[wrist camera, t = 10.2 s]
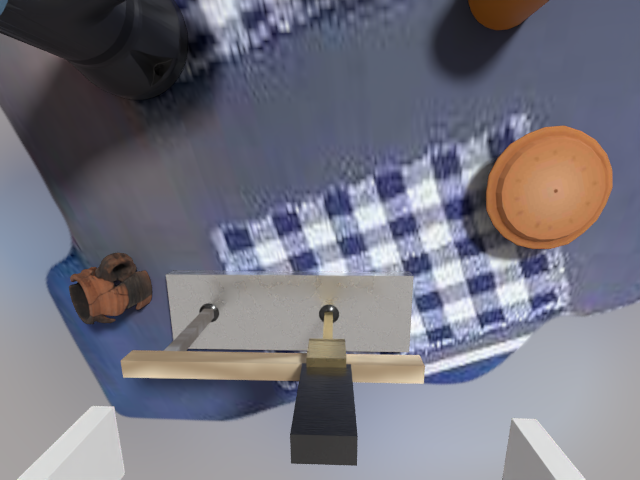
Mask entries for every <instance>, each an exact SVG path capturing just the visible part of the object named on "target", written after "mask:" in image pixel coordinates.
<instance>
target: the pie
mask: <svg viewBox="0 0 640 480" xmlns="http://www.w3.org/2000/svg"><path fill="white" fill-rule="evenodd" d="M611 190H612V168H611V165H610V162H609V159H608V156H607V154H606V153H605V151H604V150H603V149H602V148H601V146H600V145H599V144H598V142H597V141H596V140H595V139H593V138H591V137H590V136H588V135H587V134H585V133H583V132H582V131H579V130H576V129H573V128H570V127H567V126H555V127H544V128H542V129H539V130H536V131H534V132H531V133H529V134H526V135H525V136H523V137H521V138H520V139H518V140H517V141H515V142H513V143H512V144H510V145H509V146H508V147H507V148H506V150H505V151H504V152H503V153H502V154H501V155H500V156H499V157H498V159H497V160H496V162H495V164H494V166H493V168H492V170H491V172H490V174H489V175H488V182H487V190H486V210H487V213H488V215H489V217H490V219H491V221H492V224H493V225H494V226H495V228H496V229H497V230H498V231H499V232H500V234H501V235H502V236H503V237H505V238H506V239H508V240H510V241H511V242H513V243H514V244H516V245H519V246H523V247H527V248H531V249H551V248H555V247H559V246H562V245H566V244H569V243H570V242H572V241H573V240H574V239H576V238H577V237H579V236H580V235H581V234H583V233H584V232H585V231H586V230H587V229H588V228H589V227H590V226H591V225H592V224H593V223H594V222H596V220H597V219H598V217H599V215H600V214H601V212H602V210H603V208H604V207H605V205H606V203H607V200H608V197H609V195H610V192H611Z"/></svg>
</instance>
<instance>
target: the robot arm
mask: <svg viewBox="0 0 640 480" xmlns="http://www.w3.org/2000/svg"><path fill="white" fill-rule="evenodd" d="M0 33H2V34H4V35H7V36H9V37H12V38H14V39H17V40H19V41H22V42H24V43H27V44H29V45H32V46H34V47H37V48H39V49H42V50H44V51H47V52H49V53H52V54H54V55H57V56H59V57H61V58H64V59H66V60H68V61H69V62H70V63H71V64H72V65H73V66H75V67H76V68H77V69H78V70H79V71H80V72H81V73H82V74H83V75H84V76H85V77H86V78H87V79H88V80H89V81H91V82H92V83H93V84H95V85H96V86H98V87H99V88H101V89H103V90H105V91H107V92H109V93H111V94H114V95H117V96H120V97H123V98H126V99H132V100H143V99H149V98H153V97H155V96H158V95H160V94H162V93H163V92H165V91H166V90H167V89H169V88H170V87H171V86H172V85H173V84H174V82H175V81H176V80H177V78H178V77H179V75H180V74H181V72H182V69H183V67H184V64H185V61H186V57H187V50H188V36H187V30H186V25H185V21H184V18H183V16H182V13H181V11H180V9H179V7H178V5H177V4H176V2H175V1H174V0H0ZM124 474H125V469H124V463H123V458H122V452H121V445H120V440H119V434H118V427H117V422H116V415H115V409H114V407H109V406H92V407H90V409H88V411H86V413H84V414H83V415H82V416H81V417H80V418H79V419H78V420H77V421H76V422H75V423H74V424H73V425H72V426H71V427H70V428H69V429H68V430H67V431H66V432H65V433H64V434H63V435H62V436H61V437H60V438H59V439H58V440H57V441H56V442H55V443H54V444H53V445H52V446H51V447H50V448H49V449H48V450H47V451H46V452H45V453H44V454H43V455H42V456H41V457H40V458H39V459H38V460H37V461H35V462H34V463H33V464H32V465H31V466H30V467H29V468H28V469H27V470H26V471H25V472H24V473H23V474H22V475H21V476H20V477H19V478H18V479H17V480H121V478H122V477H123V475H124ZM502 480H586V479H585V478H584V477H583V476H582V475H581V473H580V472H579V471H578V470H577V469H576V467H575V466H574V465H573V464H572V462H570V460H569V459H568V457H567V456H566V455H565V454H564V453H563V451H562V450H561V449H560V448H559V446H558V445H557V444H556V443H555V442H554V440H553V439H552V438H551V437H550V435H549V434H548V433H547V432H546V430H545V429H544V428H543V427H542V426H541V425H540V423H539V422H538V421H537V420H536V419H515V418H512V420H511V426H510V433H509V439H508V446H507V452H506V458H505V465H504V471H503V478H502Z"/></svg>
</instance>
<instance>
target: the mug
mask: <svg viewBox="0 0 640 480" xmlns="http://www.w3.org/2000/svg"><path fill="white" fill-rule="evenodd" d="M548 1H549V0H468V2H469V5H470V9H471V12H472V14H473V15H474V17H475V18H476V20H477V21H478V22H479V23H481V24H482V25H484V26H485V27H486V28H490V29H494V30H506V29H510V28H512V27H515V26H517V25H519V24H520V23H522V22H523V21H524V20H525V19H527V18H528V17H529V16H530V15H532V14H533V13H534V12H535V11H537V10H538V9H539V8H540V7H542V6H543V5H544V4H545V3H547V2H548Z"/></svg>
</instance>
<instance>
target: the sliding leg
mask: <svg viewBox="0 0 640 480" xmlns="http://www.w3.org/2000/svg"><path fill="white" fill-rule="evenodd" d="M290 443H291V463H296V464H325V465H328V464H329V465H357V427H356V415H355V404H354V393H353V381H352V370H351V364H346V346H345V339H333V312H325V313H324V328H323V339H316V338H309V344H308V350H307V357H306V363H302V367H301V373H300V379H299V385H298V391H297V397H296V403H295V409H294V415H293V421H292V427H291V433H290Z"/></svg>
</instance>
